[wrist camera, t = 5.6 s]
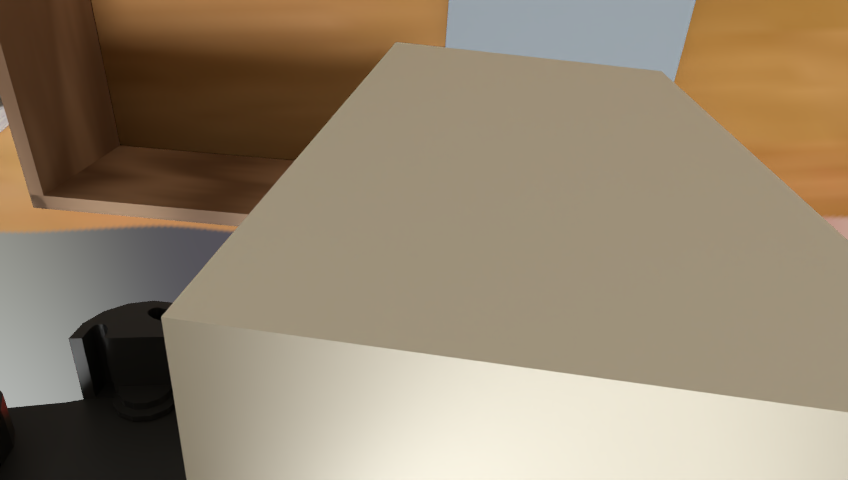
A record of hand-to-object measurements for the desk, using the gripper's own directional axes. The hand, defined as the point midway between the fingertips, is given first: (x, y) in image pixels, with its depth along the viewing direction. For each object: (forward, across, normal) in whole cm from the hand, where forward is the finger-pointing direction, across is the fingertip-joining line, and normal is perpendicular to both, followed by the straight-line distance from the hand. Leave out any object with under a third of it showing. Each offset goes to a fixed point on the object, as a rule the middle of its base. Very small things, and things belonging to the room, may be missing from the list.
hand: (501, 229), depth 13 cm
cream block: (0, 0, 0) cm, 0 cm away
